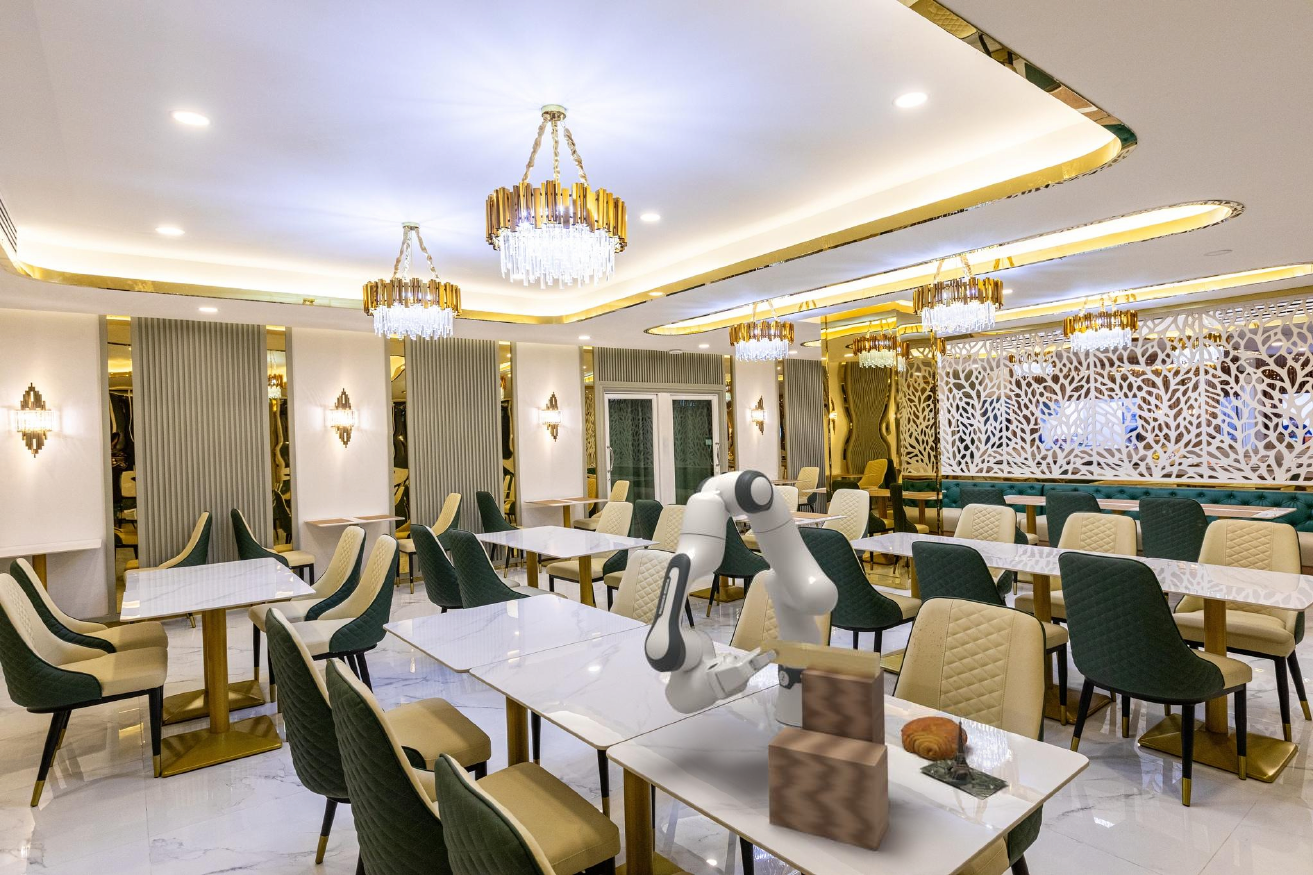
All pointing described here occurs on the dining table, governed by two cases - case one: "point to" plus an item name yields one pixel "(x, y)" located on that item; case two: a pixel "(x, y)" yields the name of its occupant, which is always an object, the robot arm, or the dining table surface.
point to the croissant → (932, 737)
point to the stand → (833, 761)
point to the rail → (823, 657)
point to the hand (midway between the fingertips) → (780, 649)
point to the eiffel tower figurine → (964, 773)
